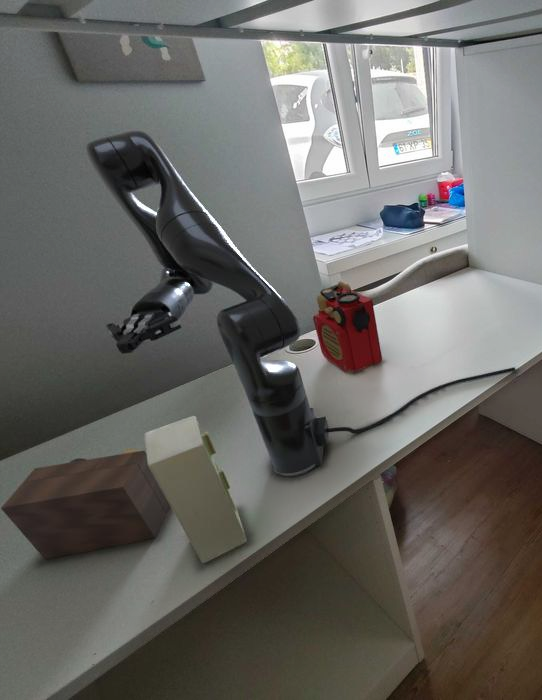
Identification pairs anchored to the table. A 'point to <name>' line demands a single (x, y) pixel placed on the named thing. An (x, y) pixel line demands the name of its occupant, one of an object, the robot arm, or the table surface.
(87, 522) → the control box
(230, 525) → the toy refrigerator
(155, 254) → the robot arm
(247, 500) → the table surface
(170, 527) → the table surface
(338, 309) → the radio
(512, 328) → the table surface
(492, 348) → the table surface
